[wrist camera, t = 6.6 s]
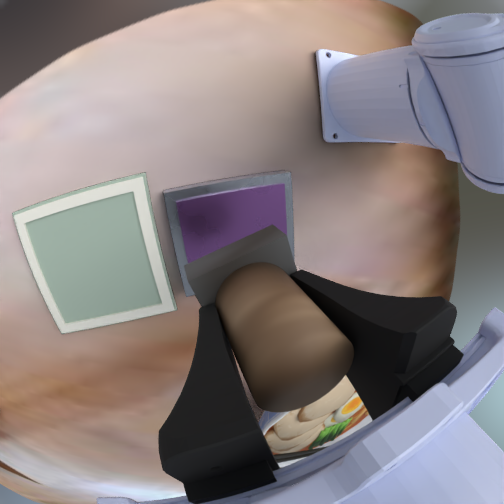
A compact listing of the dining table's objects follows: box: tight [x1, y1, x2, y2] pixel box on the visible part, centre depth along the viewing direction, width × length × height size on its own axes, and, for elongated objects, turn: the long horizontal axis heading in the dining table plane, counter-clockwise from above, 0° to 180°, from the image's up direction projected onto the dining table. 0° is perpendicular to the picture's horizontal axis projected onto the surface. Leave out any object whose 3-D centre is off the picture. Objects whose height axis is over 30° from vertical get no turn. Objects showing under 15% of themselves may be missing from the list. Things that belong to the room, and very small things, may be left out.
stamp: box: [184, 224, 354, 413], centre depth 11 cm, size 4×4×6 cm
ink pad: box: [163, 170, 294, 297], centre depth 20 cm, size 9×8×2 cm
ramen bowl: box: [258, 375, 373, 467], centre depth 29 cm, size 25×23×8 cm
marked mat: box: [12, 172, 177, 334], centre depth 18 cm, size 11×11×1 cm
